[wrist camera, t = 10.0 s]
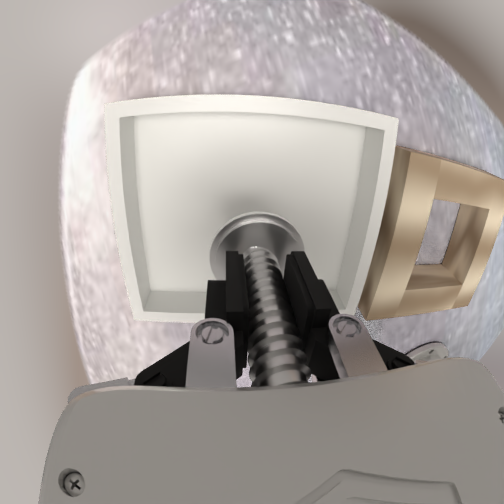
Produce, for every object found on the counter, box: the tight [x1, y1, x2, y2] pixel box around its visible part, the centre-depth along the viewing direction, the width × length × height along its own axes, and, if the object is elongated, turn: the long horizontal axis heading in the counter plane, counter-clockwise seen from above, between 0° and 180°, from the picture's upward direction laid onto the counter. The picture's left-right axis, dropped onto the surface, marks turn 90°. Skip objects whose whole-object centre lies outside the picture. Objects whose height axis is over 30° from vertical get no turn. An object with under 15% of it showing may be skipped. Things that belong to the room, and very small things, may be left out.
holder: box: [358, 145, 504, 321], centre depth 21 cm, size 14×14×4 cm
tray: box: [104, 95, 399, 323], centre depth 19 cm, size 16×18×4 cm
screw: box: [209, 211, 311, 387], centre depth 10 cm, size 13×5×5 cm
